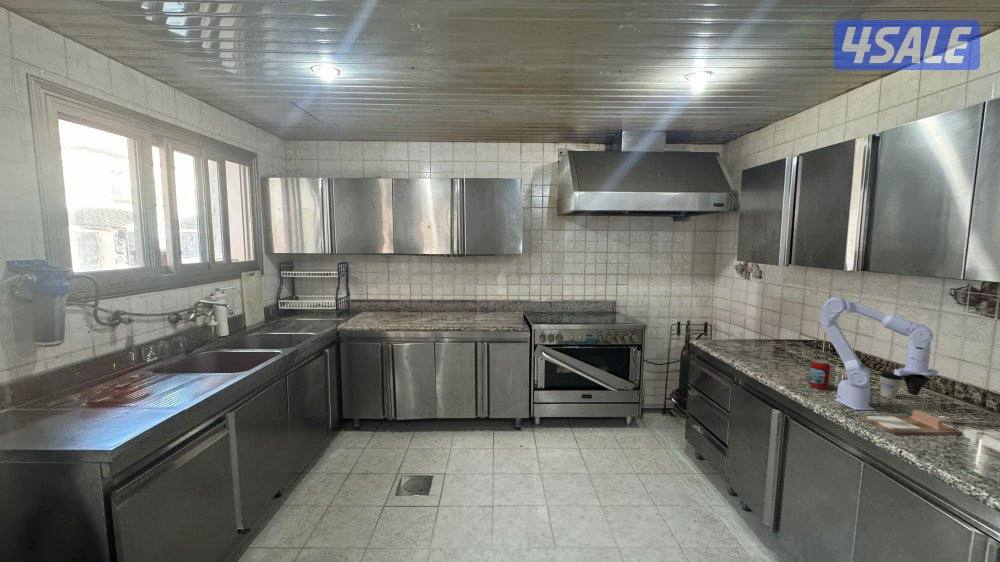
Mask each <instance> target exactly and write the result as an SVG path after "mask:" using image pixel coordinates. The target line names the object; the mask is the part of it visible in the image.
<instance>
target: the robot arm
mask: <svg viewBox="0 0 1000 562" xmlns="http://www.w3.org/2000/svg"><path fill="white" fill-rule="evenodd" d="M844 311H845V313H846V314H850V313H851V314H854V313H856V314H859V315H862V316H864V317H867V318H869V319H871V320H872V319H873V320H875V321H877V322H879V323H881V324H882V327H883V328H886V329H887V330H890V331H892V332H895V333H896V334H898V335H901V336H905V337H909V343H908V344H907V349H906V350H907V351H906V356H905V365H904V367H902V368H900V367H899V368H894V369H893V373H894V374H895V375H898V376H900V377H902V379H903V380H904V382H905V384H906V389H907V393H908V394H909V395H912V396H918V395H919V394H920V391H921V390H922V388H923V386H925V384H926V383H928V382H929V381H930V377H928V376H934V377H938V376H939V375H938V374H939V370H936V369H933V368H929V364H930V358H931V349H932V348H931V345H932V340H934V334H933V331H932V329H931V328H930V327H928V326H927V325H925V324H922V323H920V322H917V321H912V320H909V319H907V318H905V317H903V315H901V314H898V313H897V314H895V313H891V314H885V313H883V312H881V311H878V310H876V309H874V308H872V307H869V306H867V305H865V304H862V303H860V302H857V301H855V300H853V299H848V298H844V297H843V296H838V295H836V296H832V297H830V298H829V299H827V300H826V301H825V302H824V304H823V306H822V307H821V313H820V317H819V323H820V325H821V327H822V329H823V330H824V331H825V334H826V335H827V336H828V339H829V340H830V342H831V344H832V345H833V347H834V349H835V350H836V352H837V354H838V356H839V357H840V359H841V361H842V363H843V365H844V369H845V371H846V373H847V379H843V380H841V381H840V382H839V383H838V385H837V392H836V398H834V401H835V402H838V403H839V404H842V405H844V406H846V407H848V408H851V409H853V410H855V411H875V410H876V408H874V407H873V406H872V407H871V406H869V404H870V396H871V388H872V385H871V384H870V379H871V377H872V373H871V370H870V369H869V368H867V367H866V366H865V365H864V364H863V362H862V361H861V360H860V359H859V358H858V357H857V354H856V353H855V352H854V350H853V348H852V347H851V344H850V342H849V341H848V340H847V338H846V336H845V334H844V333H843V331H842V329H841V327H840V326H839V325H838V323H837V320H838V319H839V317H840V315H841V314H842V313H843V312H844Z"/></svg>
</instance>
